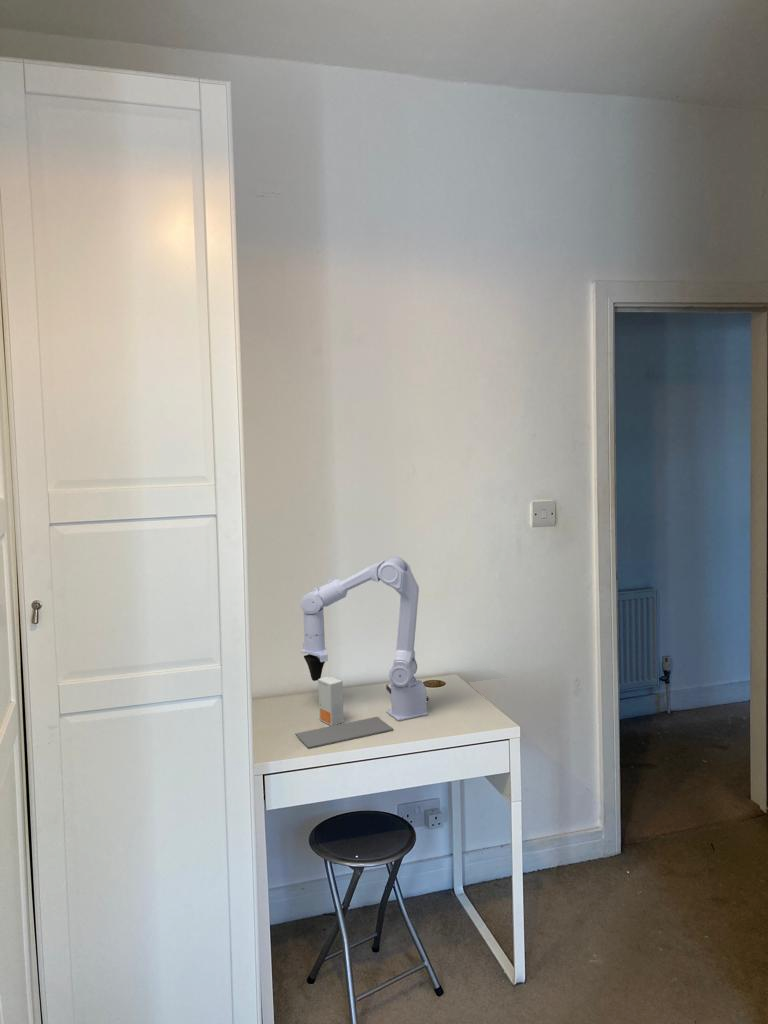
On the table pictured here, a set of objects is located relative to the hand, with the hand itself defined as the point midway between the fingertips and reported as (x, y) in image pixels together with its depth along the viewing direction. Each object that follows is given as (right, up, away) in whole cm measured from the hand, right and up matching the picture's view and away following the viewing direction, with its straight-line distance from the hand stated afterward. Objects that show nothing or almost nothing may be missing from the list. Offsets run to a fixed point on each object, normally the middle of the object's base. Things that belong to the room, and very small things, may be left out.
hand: (316, 679), depth 223 cm
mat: (+9, -10, -17) cm, 22 cm away
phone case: (+26, -7, +11) cm, 30 cm away
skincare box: (+5, -10, -9) cm, 14 cm away
